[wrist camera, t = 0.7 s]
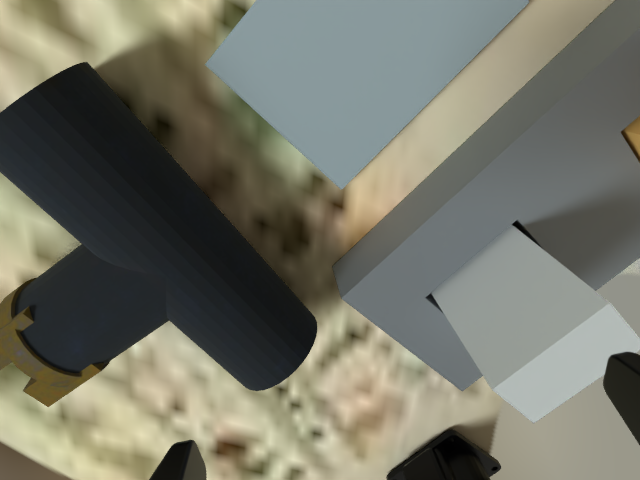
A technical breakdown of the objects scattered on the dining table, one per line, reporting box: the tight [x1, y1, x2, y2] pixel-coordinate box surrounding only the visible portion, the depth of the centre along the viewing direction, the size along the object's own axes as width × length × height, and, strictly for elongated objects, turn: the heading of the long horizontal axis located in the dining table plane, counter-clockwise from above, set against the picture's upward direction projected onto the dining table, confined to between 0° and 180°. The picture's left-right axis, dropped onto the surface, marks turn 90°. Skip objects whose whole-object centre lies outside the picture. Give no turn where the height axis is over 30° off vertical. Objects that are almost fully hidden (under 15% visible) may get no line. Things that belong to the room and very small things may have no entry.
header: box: [332, 0, 640, 391], centre depth 21 cm, size 10×22×3 cm, turn 135°
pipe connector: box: [0, 62, 317, 407], centre depth 19 cm, size 12×5×15 cm
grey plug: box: [431, 224, 640, 423], centre depth 19 cm, size 3×5×9 cm, turn 135°
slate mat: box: [205, 0, 529, 190], centre depth 17 cm, size 8×11×1 cm
